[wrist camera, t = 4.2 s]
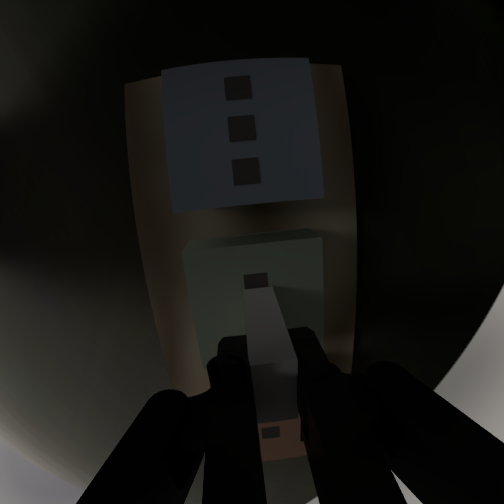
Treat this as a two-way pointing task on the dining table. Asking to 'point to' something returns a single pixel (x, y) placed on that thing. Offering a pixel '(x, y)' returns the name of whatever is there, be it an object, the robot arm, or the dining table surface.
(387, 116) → the dining table surface
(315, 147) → the tile
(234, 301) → the tile
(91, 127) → the dining table surface
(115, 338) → the dining table surface
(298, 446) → the tile
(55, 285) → the dining table surface
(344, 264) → the board
